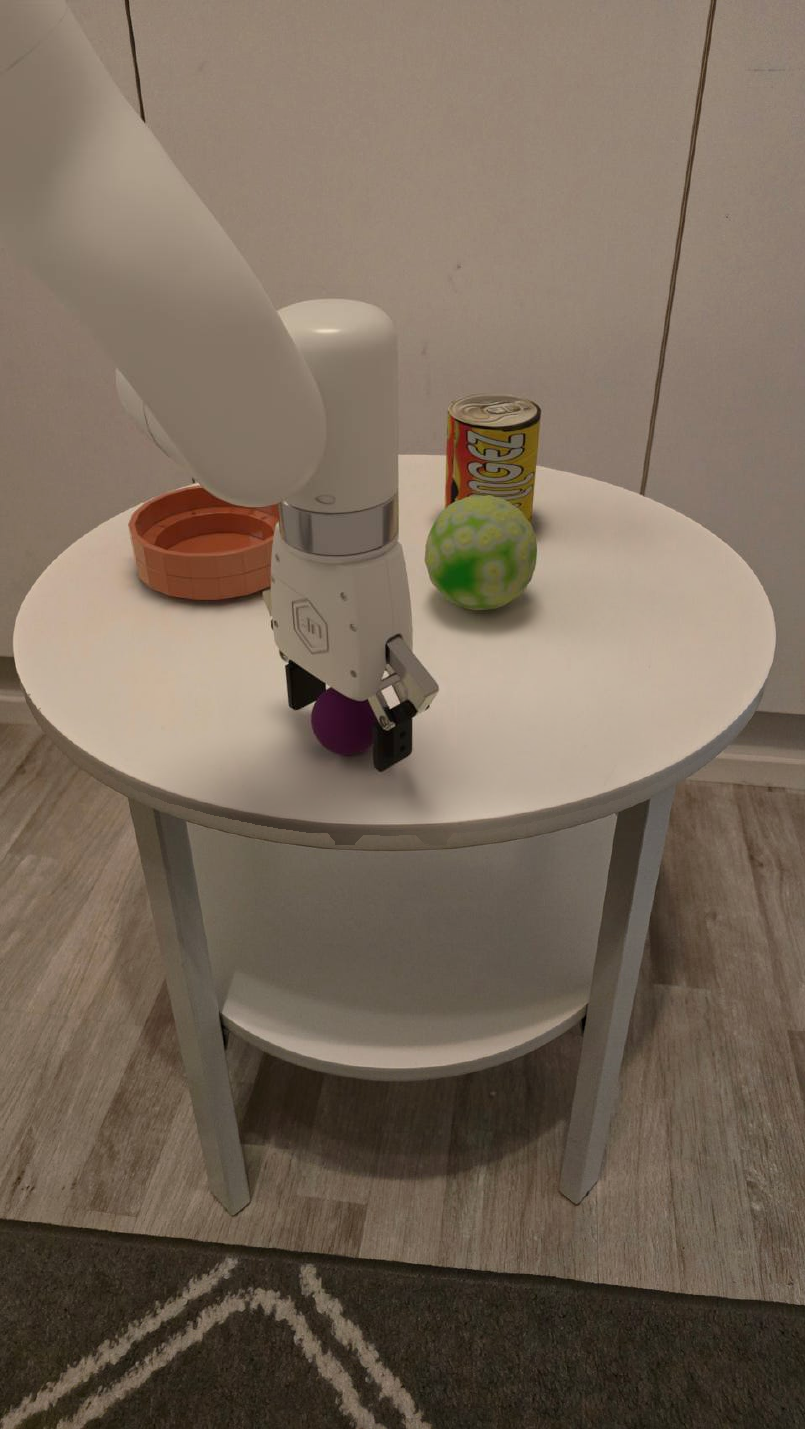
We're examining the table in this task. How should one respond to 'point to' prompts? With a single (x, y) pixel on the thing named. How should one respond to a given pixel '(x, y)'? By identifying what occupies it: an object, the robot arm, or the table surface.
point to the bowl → (202, 545)
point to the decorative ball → (481, 552)
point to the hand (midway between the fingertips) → (348, 730)
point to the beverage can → (492, 449)
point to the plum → (342, 722)
